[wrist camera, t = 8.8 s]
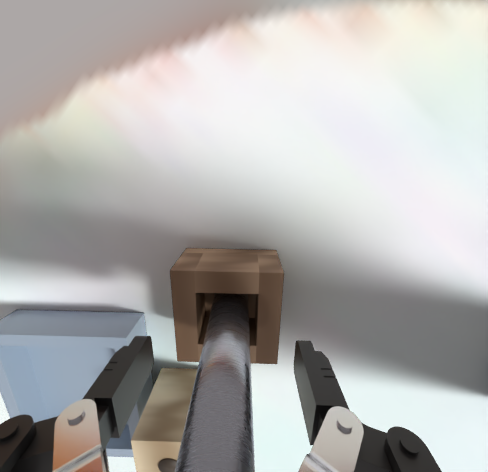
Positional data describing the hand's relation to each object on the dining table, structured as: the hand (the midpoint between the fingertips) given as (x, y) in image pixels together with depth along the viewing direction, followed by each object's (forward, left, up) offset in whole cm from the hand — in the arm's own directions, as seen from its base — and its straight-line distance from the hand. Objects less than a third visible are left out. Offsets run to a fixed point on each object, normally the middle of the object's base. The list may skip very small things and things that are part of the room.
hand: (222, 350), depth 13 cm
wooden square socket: (0, 0, -7) cm, 7 cm away
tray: (+13, +9, -7) cm, 17 cm away
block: (+4, +11, -7) cm, 13 cm away
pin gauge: (0, 0, -6) cm, 6 cm away
